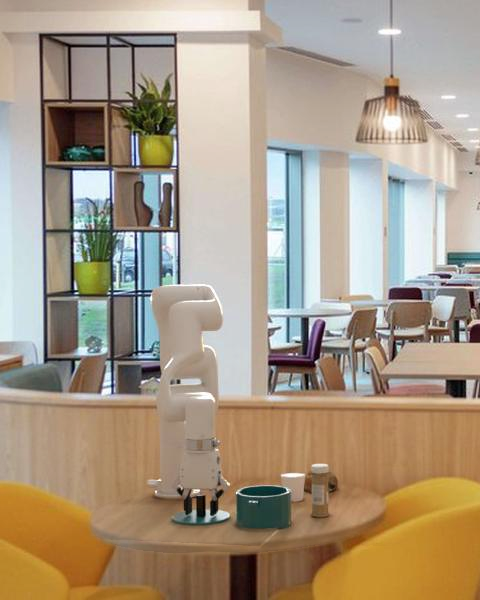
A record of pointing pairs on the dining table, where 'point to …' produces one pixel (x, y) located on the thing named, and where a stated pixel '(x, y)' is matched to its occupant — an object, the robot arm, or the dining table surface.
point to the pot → (263, 507)
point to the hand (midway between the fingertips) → (201, 513)
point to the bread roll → (331, 481)
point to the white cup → (294, 485)
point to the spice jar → (320, 490)
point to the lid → (200, 514)
